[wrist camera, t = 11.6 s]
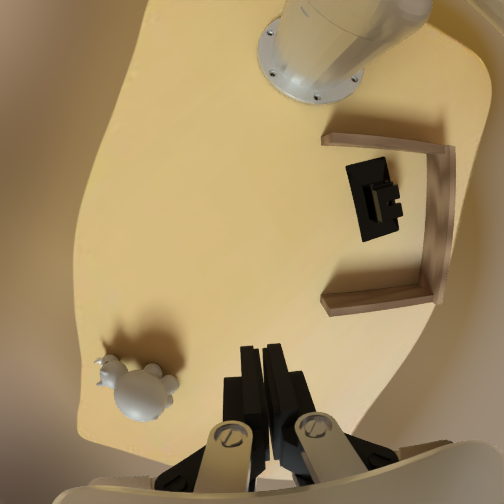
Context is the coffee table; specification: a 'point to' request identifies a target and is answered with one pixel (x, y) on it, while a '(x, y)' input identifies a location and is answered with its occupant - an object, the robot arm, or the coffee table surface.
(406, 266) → the coffee table surface
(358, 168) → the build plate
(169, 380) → the white animal figurine
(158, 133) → the coffee table surface
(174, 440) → the coffee table surface
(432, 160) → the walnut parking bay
